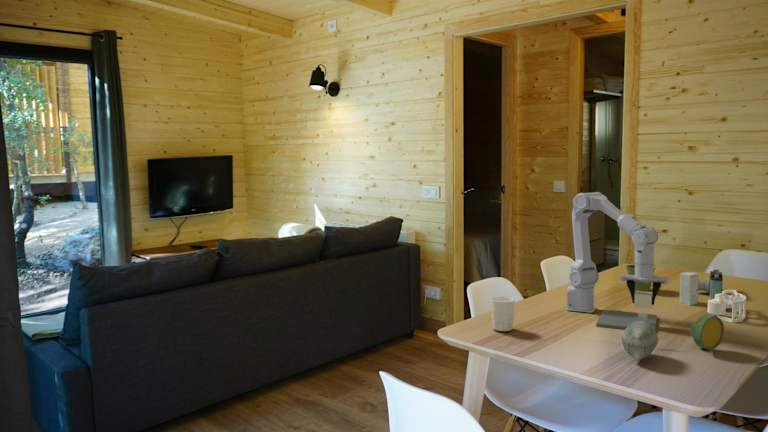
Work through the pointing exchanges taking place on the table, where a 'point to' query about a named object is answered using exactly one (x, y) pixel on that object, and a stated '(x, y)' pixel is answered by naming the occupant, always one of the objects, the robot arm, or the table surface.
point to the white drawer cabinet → (643, 299)
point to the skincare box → (688, 288)
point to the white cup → (502, 313)
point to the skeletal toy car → (728, 305)
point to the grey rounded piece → (639, 339)
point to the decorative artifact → (707, 331)
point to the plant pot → (638, 285)
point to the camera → (712, 283)
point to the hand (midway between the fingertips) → (643, 303)
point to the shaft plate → (623, 319)
